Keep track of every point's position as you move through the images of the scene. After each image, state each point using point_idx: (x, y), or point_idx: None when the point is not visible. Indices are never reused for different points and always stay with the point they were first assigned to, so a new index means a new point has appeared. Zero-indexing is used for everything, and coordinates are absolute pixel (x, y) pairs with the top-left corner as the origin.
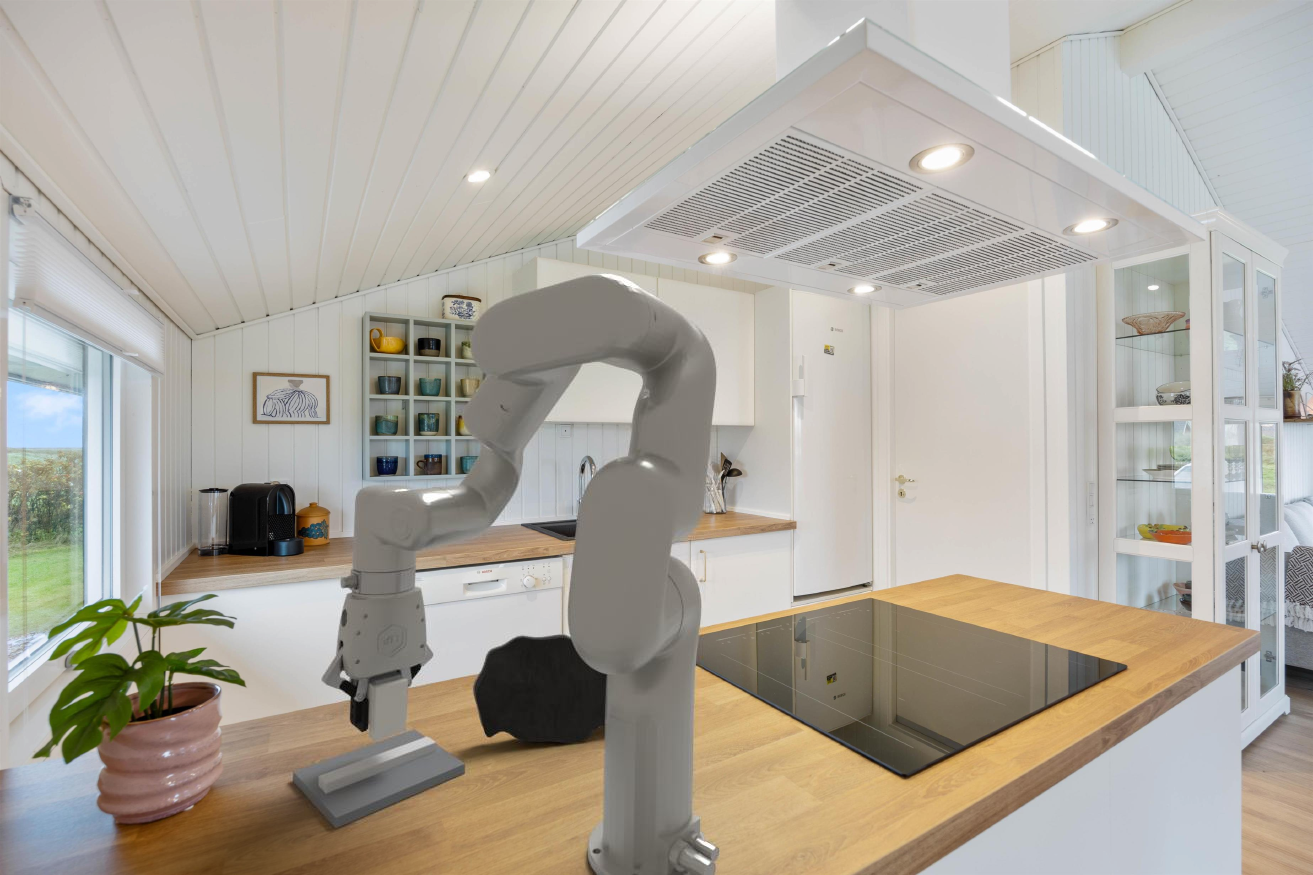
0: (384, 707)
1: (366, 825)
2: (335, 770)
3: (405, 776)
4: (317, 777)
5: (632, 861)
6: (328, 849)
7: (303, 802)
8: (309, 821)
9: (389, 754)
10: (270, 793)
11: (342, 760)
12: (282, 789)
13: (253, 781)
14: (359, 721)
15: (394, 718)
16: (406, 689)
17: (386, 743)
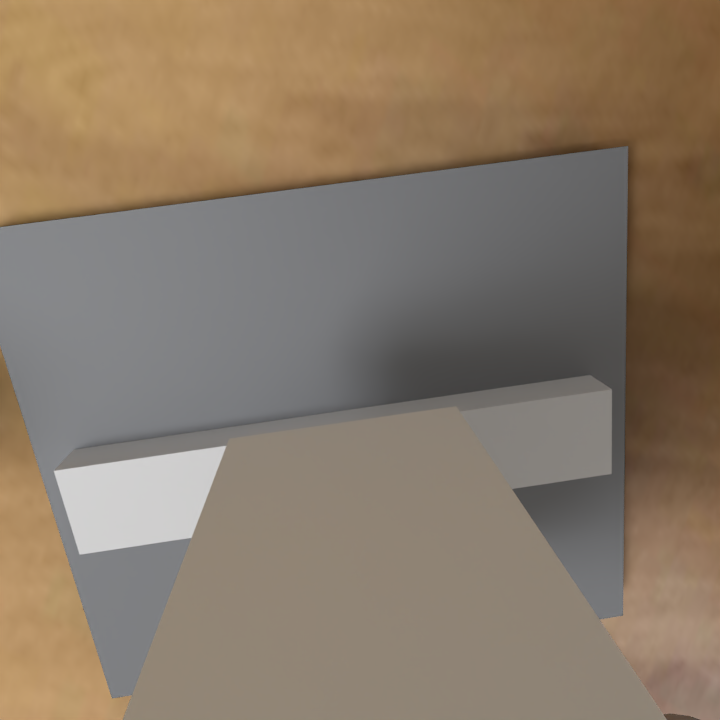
0: (438, 537)
1: (504, 86)
2: (542, 478)
3: (271, 301)
4: (571, 519)
5: None
6: (674, 12)
7: (625, 422)
8: (655, 274)
9: None
10: (685, 549)
11: None
12: (647, 553)
13: (697, 654)
14: None
15: (318, 481)
16: (151, 685)
17: None
